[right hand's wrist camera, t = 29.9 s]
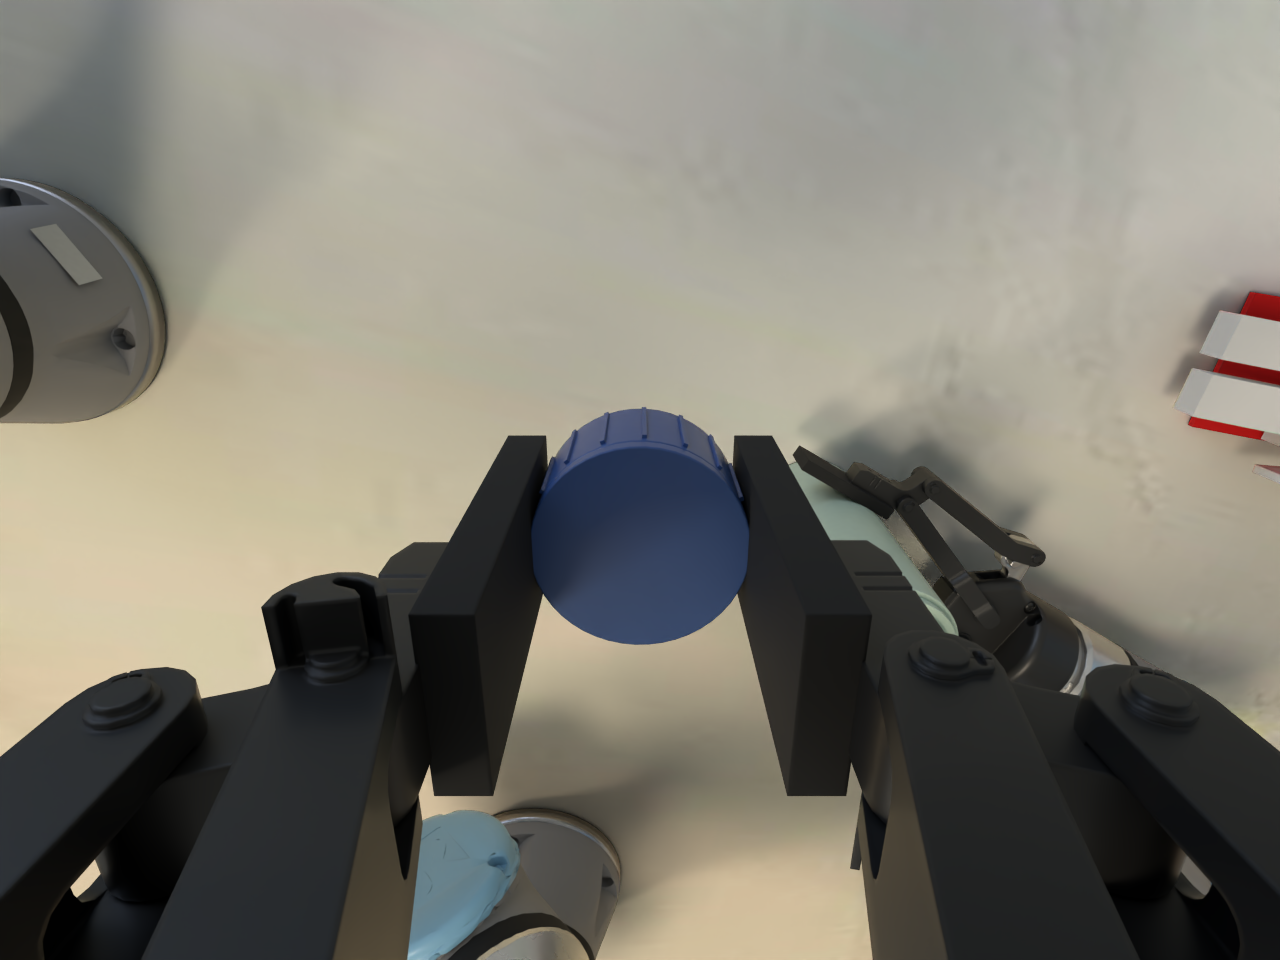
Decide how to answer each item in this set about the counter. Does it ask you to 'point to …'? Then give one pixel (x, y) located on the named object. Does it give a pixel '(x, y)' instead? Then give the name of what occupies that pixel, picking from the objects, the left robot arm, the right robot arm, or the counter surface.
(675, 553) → the cap
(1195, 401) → the toy
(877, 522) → the bottle
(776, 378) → the counter surface
